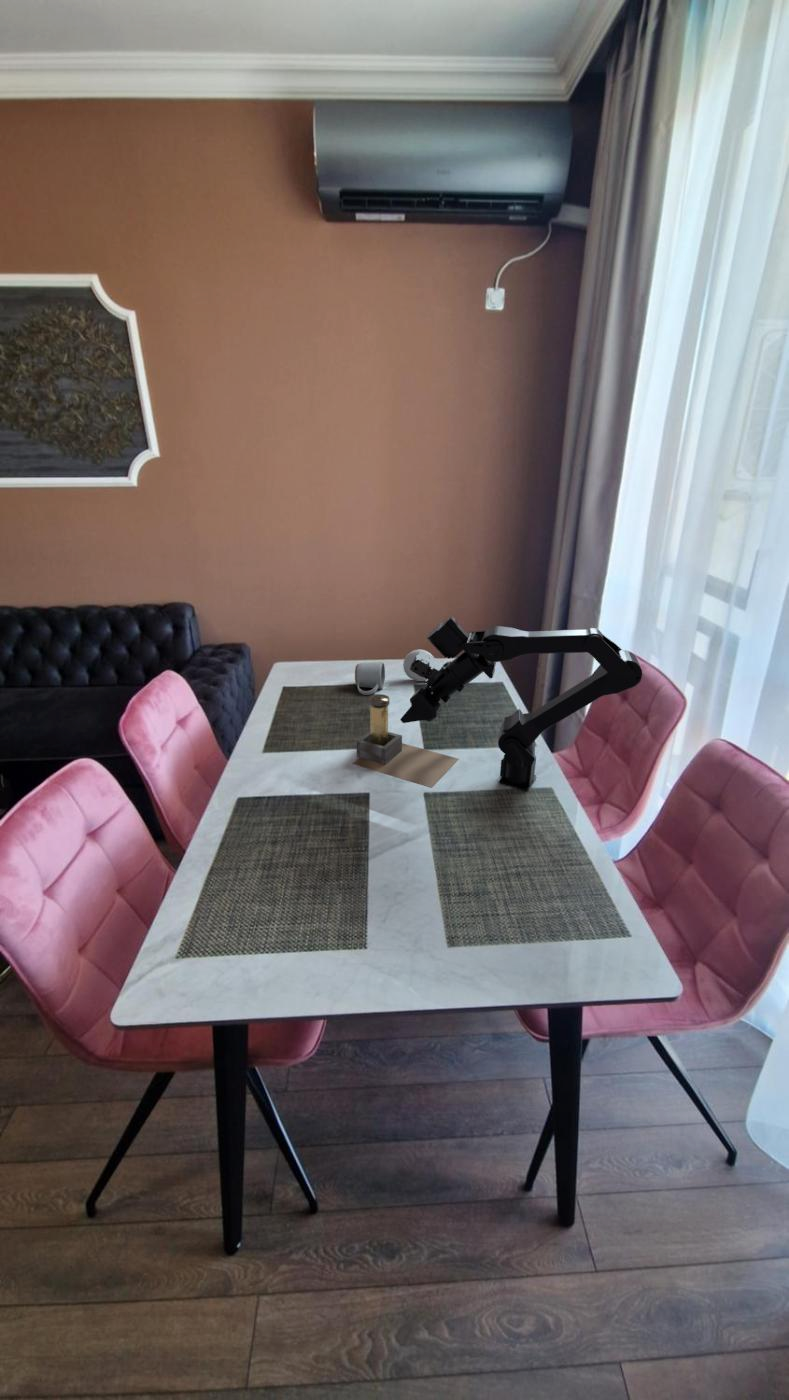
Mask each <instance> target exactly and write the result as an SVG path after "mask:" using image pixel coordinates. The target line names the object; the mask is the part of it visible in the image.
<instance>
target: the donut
mask: <svg viewBox="0 0 789 1400" xmlns="http://www.w3.org/2000/svg"><path fill="white" fill-rule="evenodd" d="M421 651H423V652H425V653H427V654H429V655H430V656H432V657H434V655H432V654H431V652H429V651H427V650H426V649H414V650H412V651H410V652H409V653H408V654H406V656H404V657H405V658H404V660H403V663H402V666H403V671H404V673H405V675H406V676H407V677H408V678H409V679H411V680H413V681H416V682H426V681H427V680H428V679H426V678H424V677H421V676H419V675H417V674H416V673H414V672H412V671H411V670H410V667H411V664H412V663H413V661H414V659H415V657H416V656H417V655H418V654H419V653H420V652H421Z"/></svg>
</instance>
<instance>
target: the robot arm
mask: <svg viewBox="0 0 789 1400" xmlns="http://www.w3.org/2000/svg"><path fill="white" fill-rule="evenodd" d="M425 639H427V641H428V642H429V643H430V644H431V645H432V646H433V647H434V648H435V649H436V650H437V651H438V652H439V653H440V654H441V656H442V657H443V658H447V659H453V660H452V661H451V660H450V661H446V663H443V662H441V661H439V659H437V658H435V657H434V656H433V655H432V656H433V657H432V656H430V655H429V654H427V653H425V652H423V651H421V652H420V653H419V654H418V655H417V656H416V657H415V659H414V661H413V663H412V664H411V667H410V670H411V671H412V672H414V673H416V674H417V675H419V676H421V677H424V678H426V679H427V680H425V684H426V687H423V688H422V687H421V688H420V689H418V690H417V691H416V692H415V693H413V695H412V696H411V697H410V698H409V702H410V707H409V708H408V709H407V710H406V712H405V713H404V714H403V716H401V718H400V722H401V723H403V724H407V723H414V722H419V721H421V722H422V721H426V722H429V723H431V722H432V721H434V719H436V718H437V717H438V715H439V714H440V712H441V708H442V704H441V703H440V701H441V700H442V702H443V703H444V704H445V703H447V702H448V701H449V700H450V699H451V697H452V696H454V695H455V694H456V693H460V692H462V691H463V690H464V689H465V688H466V687H465V686H467V685H469V684H470V683H471V682H472V681H473V680H475V679H476V678H477V677H480V675H481V674H483V673H484V674H485V675H486V676H487V678H489V679H493V678H494V674H495V670H496V664H497V663H499V662H505V661H510V660H513V659H516V658H518V657H521V656H526V655H541V654H542V655H544V654H546V655H547V654H575V653H577V654H578V653H583V654H584V653H589V655H590V656H591V657H592V658H593V659H594V660H595V661H597V663H598V664H599V665H598V667H597V668H596V669H595V670H594V672H593V673H592V674H591V675H590V676H589V677H587V678H585V679H584V680H582V681H581V682H579V683H577V684H576V685H574V686H572V687H571V688H569V689H568V690H566V691H564V692H563V693H561V694H559V695H558V696H556V697H555V698H553V699H551V700H550V701H548V702H547V703H545V704H544V705H541V706H540V707H538V708H537V709H534V710H533V711H531V712H527V713H526V712H525V713H523V712H522V710H521V708H518V709H516V710H515V712H513V713H512V714H511V715H508V716H504V719H503V722H502V723H501V724H500V726H499V733H498V741H497V745H498V749H500V751H501V752H502V753H503V758H501V761H500V767H499V768H500V769H499V770H500V771H499V777H500V778H499V780H498V783H499V784H501V785H505V786H507V787H512V788H516V789H519V790H521V791H522V790H523V791H527V792H528V790H530V788H531V786H532V785H533V784H534V782H535V781H536V779H537V775H535V772H536V771H535V770H536V765H537V755H536V740H537V739H538V737H540V735H541V734H542V733H543V732H544V731H546V730H549V729H550V728H551V727H553V726H554V725H556V724H558V723H559V722H561V721H563V720H565V719H567V718H568V717H569V716H571V715H573V714H575V713H577V712H578V711H580V710H582V709H583V708H584V707H587V706H588V705H589V704H591V703H593V702H594V701H597V700H598V699H600V698H602V697H604V696H611V695H618V694H621V693H622V692H623V693H624V692H625V691H627V690H630V689H632V688H635V687H637V686H638V685H639V683H641V681H642V676H643V670H642V668H641V667H642V666H641V665H640V661H639V659H638V658H637V656H636V655H635V653H633V652H632V651H629V650H624V649H622V648H621V647H620V646H619V645H617V643H615V642H614V641H612V640H611V639H609V638H608V637H606V635H605V634H603V633H602V632H601V631H600V629H598V628H596V627H595V628H594V627H590V628H589V627H588V628H586V629H563V630H559V629H558V630H537V631H535V630H534V631H532V630H531V631H527V630H521V629H517V628H514V627H510V626H502V625H501V626H500V625H494V626H490V627H489V628H487V629H486V630H476V631H474V630H472V631H469V632H468V633H467V632H466V630H465V629H464V628H463V626H461V625H460V624H459V622H458V620H457V619H456V618H455V617H454V616H452V615H451V616H449V618H447V619H445V620H444V621H442V622H439V623H438V625H436V626H435V627H434V628H433V629H432V630H431V631H430V632H429V633H428V635H427V636H426V637H425Z"/></svg>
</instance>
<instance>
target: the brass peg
mask: <svg viewBox="0 0 789 1400" xmlns="http://www.w3.org/2000/svg"><path fill="white" fill-rule="evenodd" d="M368 705H369V711H370V713H369V715H370V716H369V717H370V718H369V719H370V721H369V722H370V731H371V743H374V744H377V745H381V746H385V745H386V744H387V743H388V732H389V706H390V696H388V695H386V694H380V693H377V694H371V695H370V696H369V697H368Z"/></svg>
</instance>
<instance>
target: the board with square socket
mask: <svg viewBox="0 0 789 1400" xmlns="http://www.w3.org/2000/svg"><path fill="white" fill-rule="evenodd" d="M356 757H358V759H356V760H354V762H352V763H351V764H352V765H355V766H358V767H362V768H364V769H368V770H372V771H375V772H379V773H381V774H384V775H388V776H392V777H394V778H398V779H400V780H404V781H408V782H412V783H415V784H418V785H421V786H424V787H428V788H432V789H433V788H434V786H436V784H437V783H438V782H439V781H440V780H441V779H443V777H444V776H445V775H446V774H447V773H448V771H450V770H451V768H452V767H453V766H455V764H456V763H457V762H458V761H459V760H460V758H458V757H454V756H450V755H447V754H443V753H439V752H436V751H432V750H428V749H424V748H421V747H419V746H418V747H417V746H414V745H411V744H410V745H409V744H408V743H407V744H406V743H403V735H402V734H398V733H395V732H390V731H388V743H387V744H386V745H385V746H381V745H377V744H374V743H371V730H370V731H368V732H367V733H365V734H364V735H363V736H362V737H360V738H359V739H357V740H356Z"/></svg>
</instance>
